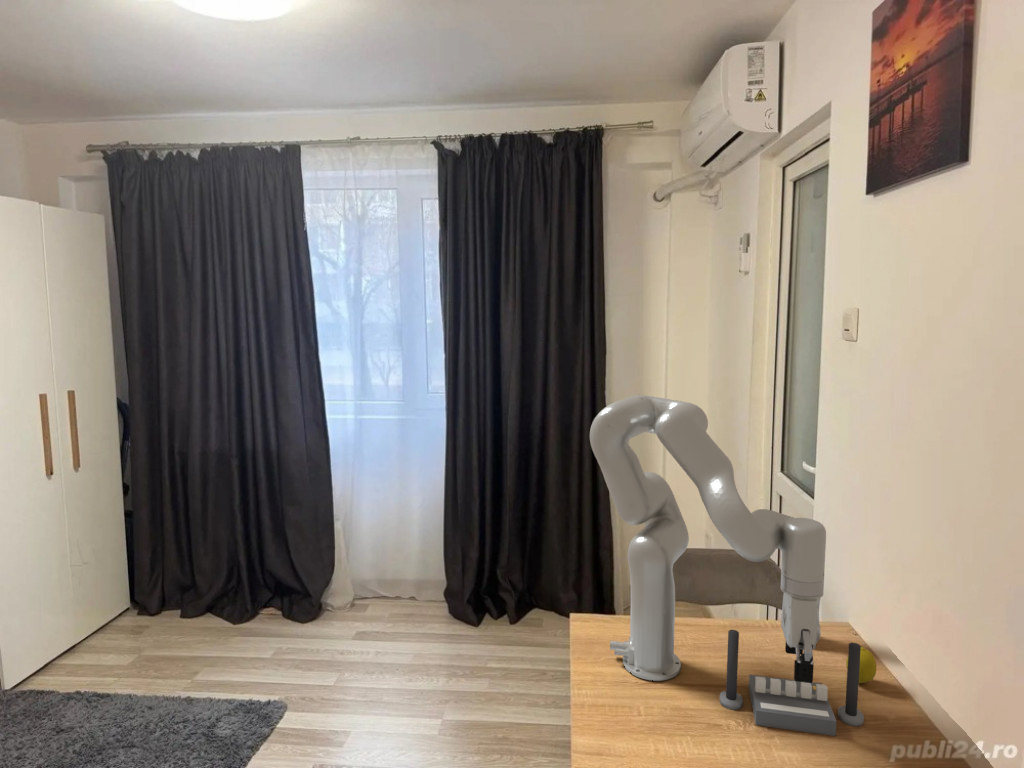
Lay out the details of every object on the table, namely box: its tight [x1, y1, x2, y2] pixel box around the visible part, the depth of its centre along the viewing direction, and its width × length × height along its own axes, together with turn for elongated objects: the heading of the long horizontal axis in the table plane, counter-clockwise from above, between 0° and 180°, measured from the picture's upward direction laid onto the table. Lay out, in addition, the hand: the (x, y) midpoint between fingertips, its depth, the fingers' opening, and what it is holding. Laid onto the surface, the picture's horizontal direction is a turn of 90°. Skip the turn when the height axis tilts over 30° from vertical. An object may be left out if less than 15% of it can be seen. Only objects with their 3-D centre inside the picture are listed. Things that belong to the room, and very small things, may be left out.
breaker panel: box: [748, 674, 837, 737], centre depth 127 cm, size 14×12×3 cm
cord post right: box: [837, 642, 865, 727], centre depth 123 cm, size 4×4×15 cm
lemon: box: [846, 646, 877, 684], centre depth 135 cm, size 6×6×8 cm
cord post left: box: [719, 629, 744, 711], centre depth 128 cm, size 4×4×15 cm
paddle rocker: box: [755, 676, 829, 701], centre depth 126 cm, size 13×1×3 cm, turn 76°
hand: (798, 666), depth 125 cm, fingers open, 9 cm apart
